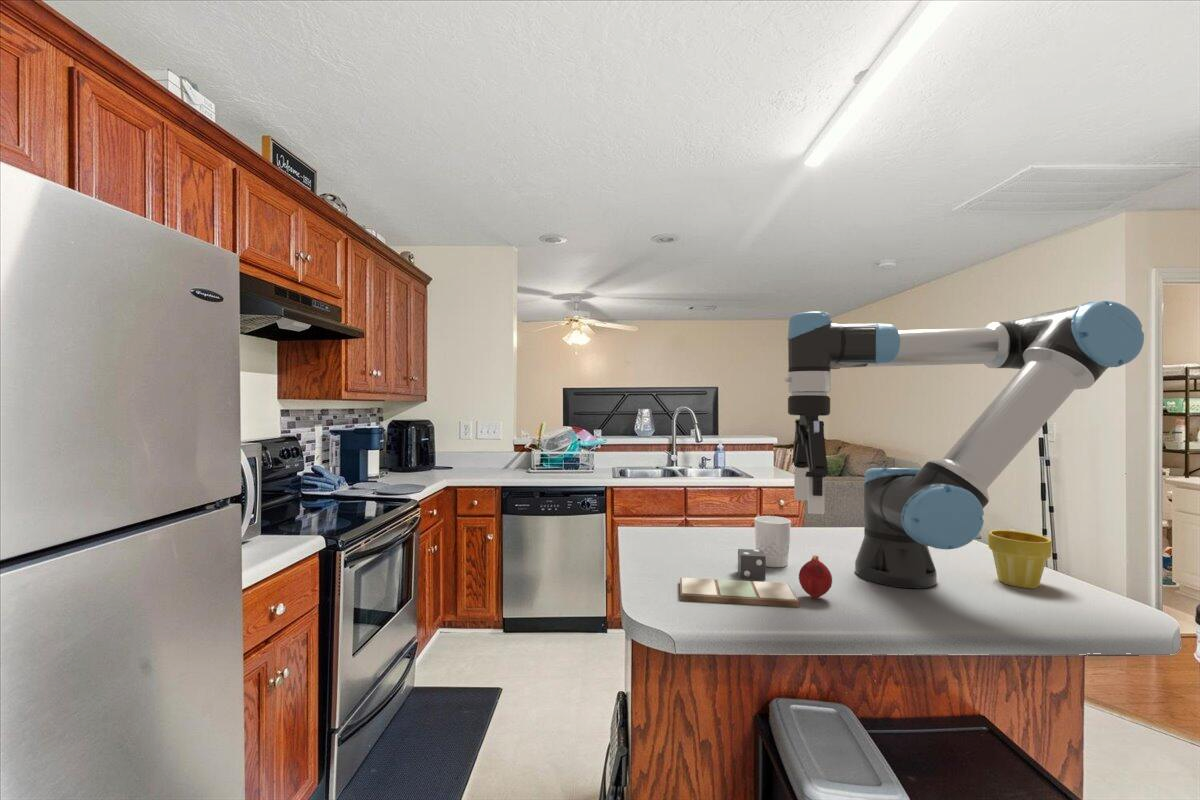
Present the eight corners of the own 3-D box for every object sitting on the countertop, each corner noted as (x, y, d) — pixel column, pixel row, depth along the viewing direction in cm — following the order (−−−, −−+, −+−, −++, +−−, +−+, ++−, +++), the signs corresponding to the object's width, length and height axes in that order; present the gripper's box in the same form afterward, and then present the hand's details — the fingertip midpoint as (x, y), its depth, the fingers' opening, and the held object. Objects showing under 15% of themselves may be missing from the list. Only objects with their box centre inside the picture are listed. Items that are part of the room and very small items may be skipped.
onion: (835, 605, 98) (835, 561, 98) (801, 602, 99) (801, 559, 99) (828, 594, 104) (828, 552, 104) (796, 592, 105) (796, 550, 105)
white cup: (795, 568, 120) (795, 523, 120) (759, 568, 120) (760, 523, 120) (783, 558, 128) (784, 516, 128) (750, 558, 128) (750, 515, 128)
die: (761, 573, 117) (761, 549, 117) (765, 580, 112) (765, 555, 112) (737, 571, 118) (737, 548, 118) (740, 579, 112) (740, 554, 112)
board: (787, 588, 107) (787, 582, 107) (799, 607, 97) (799, 600, 97) (680, 582, 110) (680, 576, 110) (680, 600, 100) (680, 593, 100)
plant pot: (1064, 593, 105) (1064, 543, 105) (1005, 590, 107) (1006, 540, 107) (1031, 576, 116) (1031, 530, 116) (977, 573, 117) (978, 528, 117)
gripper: (778, 395, 116) (778, 494, 116) (800, 393, 91) (799, 519, 91) (815, 395, 115) (815, 496, 114) (847, 393, 90) (847, 521, 90)
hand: (808, 506), depth 103 cm, fingers open, 13 cm apart
